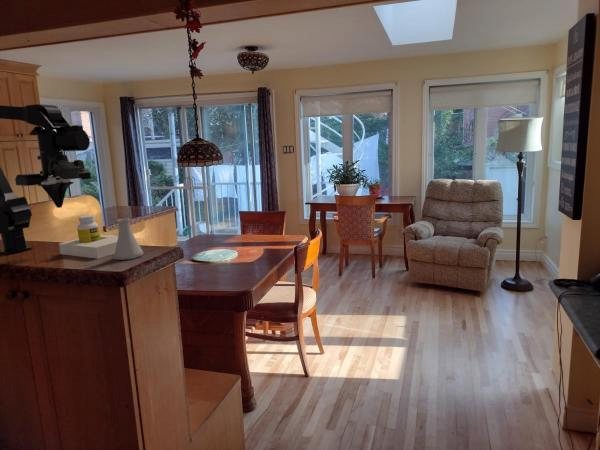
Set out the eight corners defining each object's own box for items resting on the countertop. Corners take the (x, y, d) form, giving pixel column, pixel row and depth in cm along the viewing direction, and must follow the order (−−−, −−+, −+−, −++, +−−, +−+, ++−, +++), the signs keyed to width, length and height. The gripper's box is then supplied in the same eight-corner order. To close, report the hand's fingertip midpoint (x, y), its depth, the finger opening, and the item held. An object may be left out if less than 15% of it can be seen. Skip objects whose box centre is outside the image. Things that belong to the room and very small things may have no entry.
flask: (133, 260, 111) (128, 221, 109) (108, 261, 113) (102, 222, 111) (148, 253, 118) (143, 216, 116) (124, 253, 120) (118, 217, 118)
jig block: (60, 254, 123) (59, 243, 123) (98, 243, 134) (97, 234, 133) (98, 258, 115) (96, 247, 115) (135, 247, 126) (133, 237, 125)
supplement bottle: (94, 252, 123) (88, 217, 121) (76, 252, 124) (71, 218, 122) (105, 247, 128) (100, 214, 126) (88, 247, 129) (83, 214, 127)
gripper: (34, 153, 110) (44, 214, 113) (100, 149, 126) (106, 203, 129) (9, 153, 115) (19, 212, 119) (75, 150, 131) (82, 202, 135)
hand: (59, 207), depth 125 cm, fingers closed
